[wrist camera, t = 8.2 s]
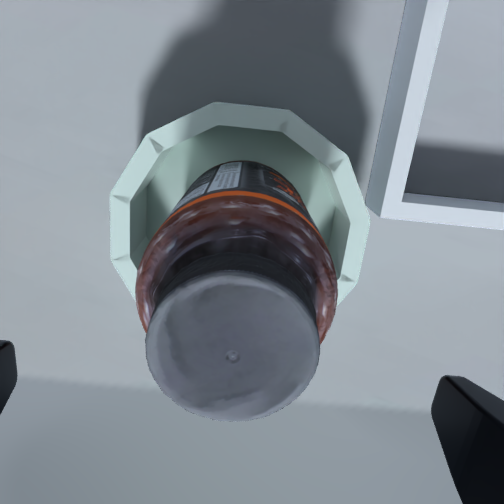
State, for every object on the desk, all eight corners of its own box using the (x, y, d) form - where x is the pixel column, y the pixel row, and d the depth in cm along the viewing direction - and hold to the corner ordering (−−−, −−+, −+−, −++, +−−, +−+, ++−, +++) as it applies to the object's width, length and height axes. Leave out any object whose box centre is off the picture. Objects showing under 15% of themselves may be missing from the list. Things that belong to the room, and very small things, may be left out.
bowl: (363, 117, 19) (391, 121, 15) (325, 316, 23) (341, 358, 19) (135, 92, 19) (107, 89, 15) (134, 299, 22) (111, 339, 18)
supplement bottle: (327, 233, 20) (415, 385, 9) (229, 296, 21) (209, 494, 11) (257, 129, 18) (269, 171, 8) (155, 204, 19) (41, 332, 9)
